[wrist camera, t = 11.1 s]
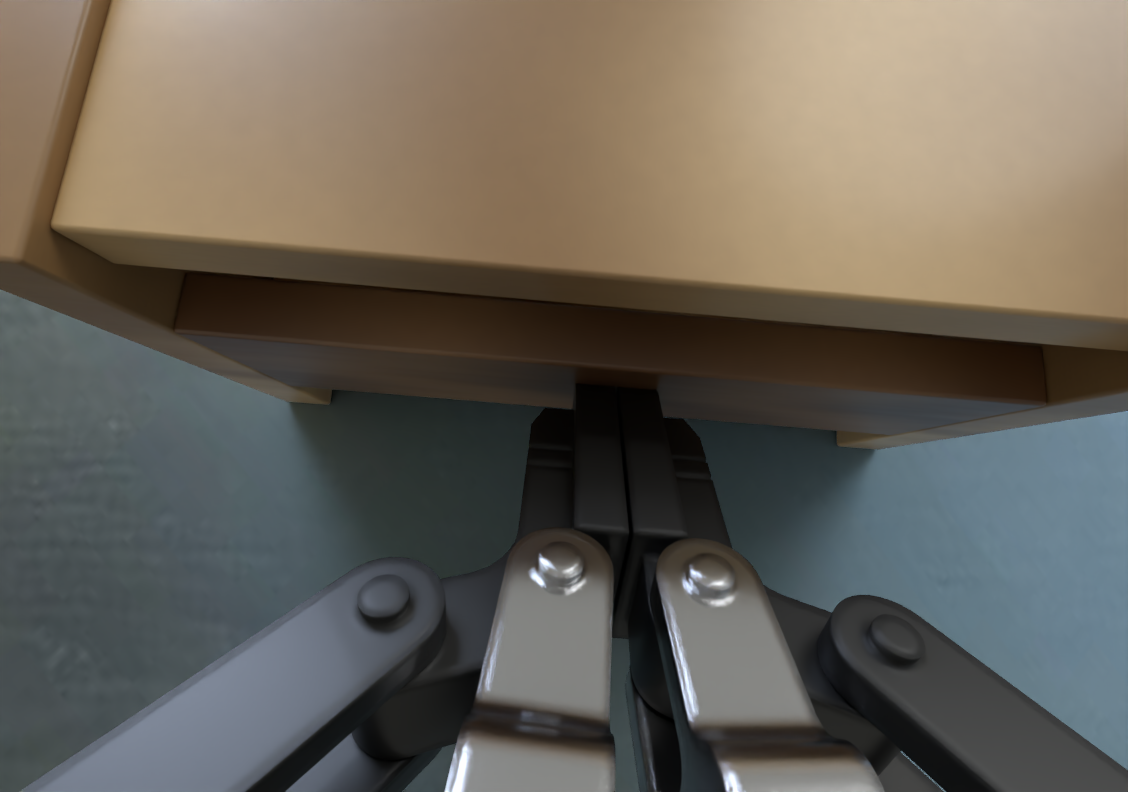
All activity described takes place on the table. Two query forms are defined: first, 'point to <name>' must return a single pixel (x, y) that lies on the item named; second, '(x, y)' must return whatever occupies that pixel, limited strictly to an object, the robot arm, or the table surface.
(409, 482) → the table surface
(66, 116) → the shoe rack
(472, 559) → the table surface
